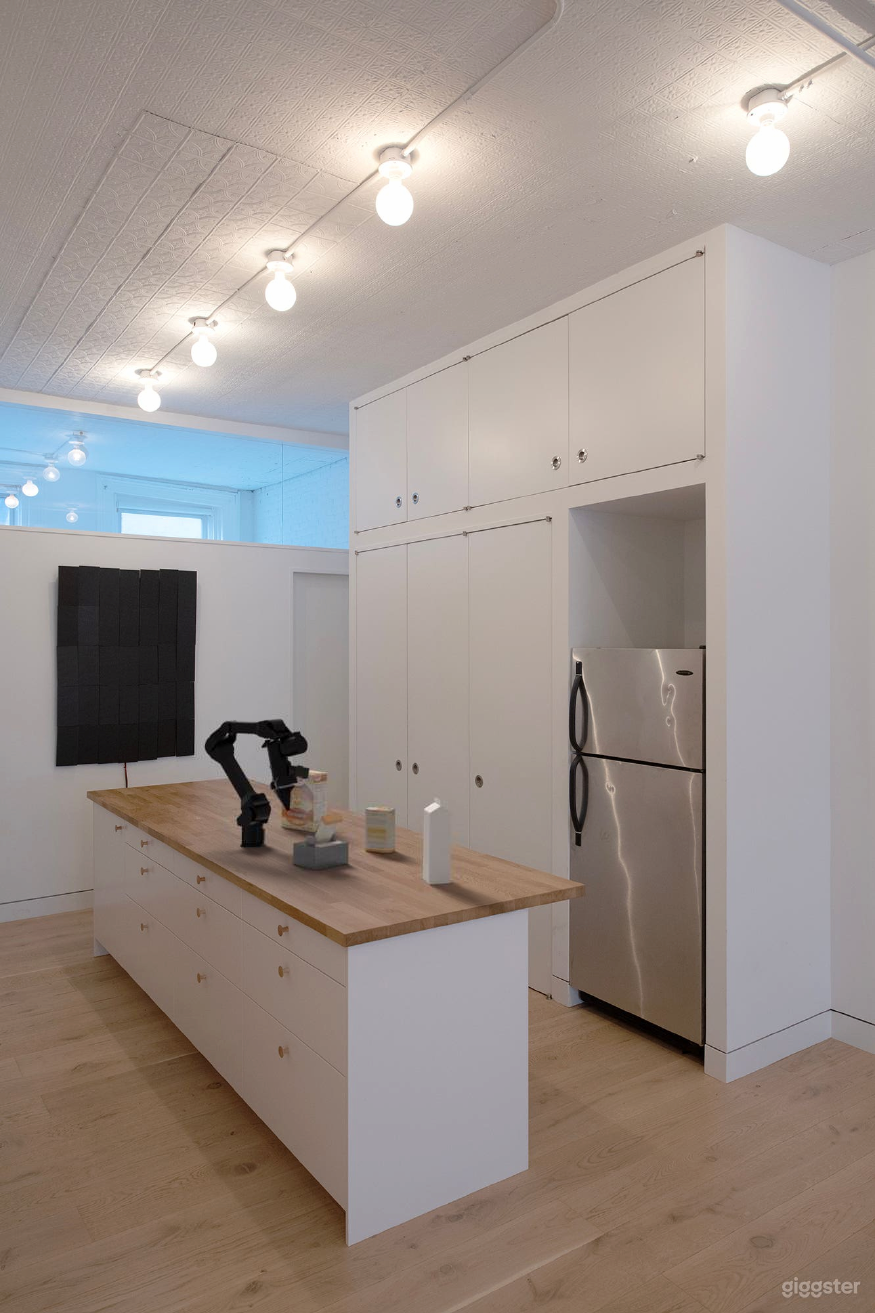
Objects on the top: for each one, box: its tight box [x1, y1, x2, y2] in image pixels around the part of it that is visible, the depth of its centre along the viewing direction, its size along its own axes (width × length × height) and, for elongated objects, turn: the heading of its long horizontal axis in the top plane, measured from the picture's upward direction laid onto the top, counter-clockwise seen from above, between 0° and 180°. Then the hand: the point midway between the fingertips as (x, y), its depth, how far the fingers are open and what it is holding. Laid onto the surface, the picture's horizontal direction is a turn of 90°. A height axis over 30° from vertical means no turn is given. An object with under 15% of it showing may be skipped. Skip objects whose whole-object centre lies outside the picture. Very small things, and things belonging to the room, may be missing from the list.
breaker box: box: [292, 832, 350, 871], centre depth 252 cm, size 10×12×8 cm
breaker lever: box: [313, 812, 344, 843], centre depth 250 cm, size 2×6×9 cm
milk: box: [422, 796, 452, 886], centre depth 235 cm, size 6×6×22 cm
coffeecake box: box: [280, 769, 328, 833], centre depth 302 cm, size 15×7×20 cm, turn 55°
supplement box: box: [364, 806, 396, 854], centre depth 269 cm, size 8×5×13 cm, turn 65°
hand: (288, 810), depth 267 cm, fingers closed
